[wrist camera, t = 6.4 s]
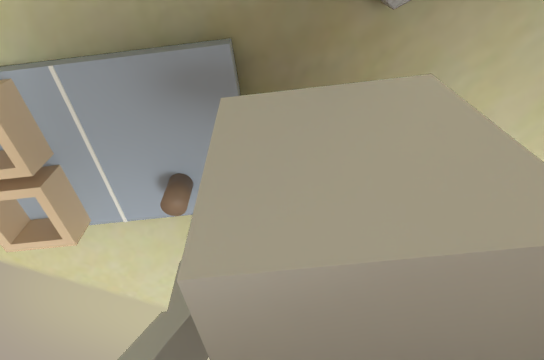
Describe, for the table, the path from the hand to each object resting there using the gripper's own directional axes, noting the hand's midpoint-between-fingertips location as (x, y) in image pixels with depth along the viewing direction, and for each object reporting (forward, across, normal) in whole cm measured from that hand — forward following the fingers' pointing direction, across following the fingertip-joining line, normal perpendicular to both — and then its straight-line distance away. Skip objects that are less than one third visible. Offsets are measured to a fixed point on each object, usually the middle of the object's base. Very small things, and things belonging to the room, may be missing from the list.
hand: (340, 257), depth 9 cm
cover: (+2, 0, 0) cm, 2 cm away
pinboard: (+18, +16, +5) cm, 25 cm away
